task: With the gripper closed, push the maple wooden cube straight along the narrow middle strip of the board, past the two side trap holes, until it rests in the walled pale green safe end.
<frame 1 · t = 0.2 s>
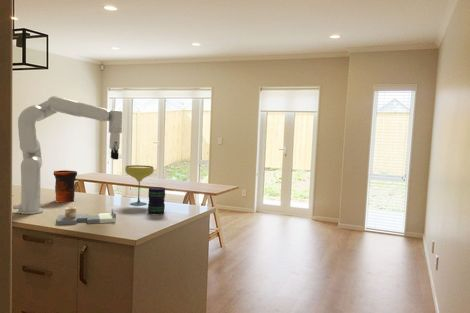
hand: (114, 158, 229), 31 cm above the table, tool pointing down, fingers open, 9 cm apart
cocktail glass: (138, 204, 250), on the table
maple block: (70, 217, 197), point 2 cm above the table, touching trap board
storage jar: (156, 213, 226), on the table
vessel: (64, 201, 250), on the table
trap board: (86, 220, 200), on the table
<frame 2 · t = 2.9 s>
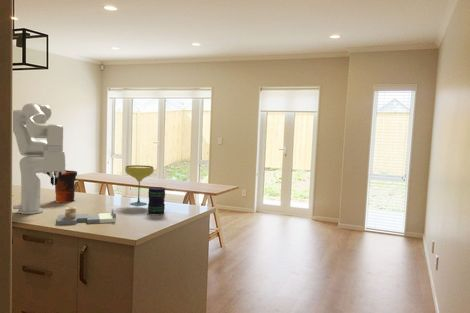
hand: (54, 184, 193), 19 cm above the table, tool pointing down, fingers closed
nothing on the table moved.
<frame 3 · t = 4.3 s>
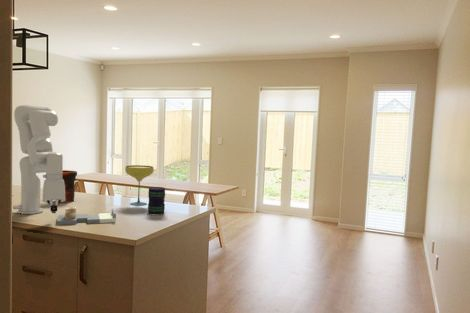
hand: (53, 212, 193), 5 cm above the table, tool pointing down, fingers closed
nothing on the table moved.
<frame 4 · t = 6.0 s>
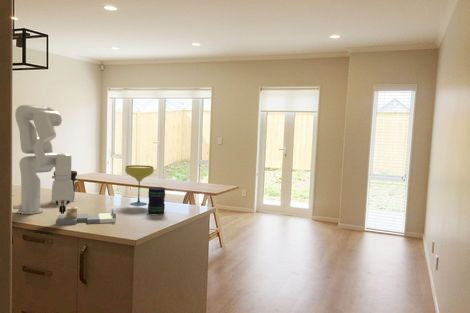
hand: (62, 213, 195), 4 cm above the table, tool pointing down, fingers closed
maple block: (71, 217, 197), point 2 cm above the table, touching gripper, trap board
everything else where it was.
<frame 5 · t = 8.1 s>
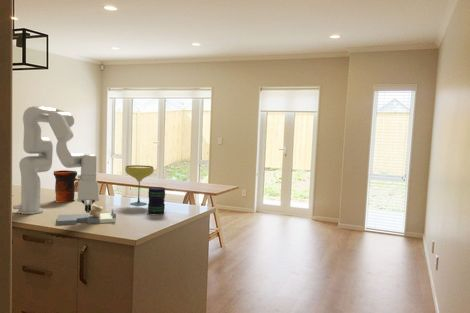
hand: (87, 212, 200), 4 cm above the table, tool pointing down, fingers closed
maple block: (94, 215, 200), point 3 cm above the table, tilted 19°, touching gripper, trap board
everything else where it was.
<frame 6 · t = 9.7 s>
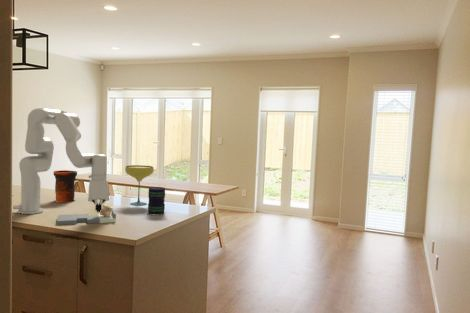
hand: (98, 211, 202), 4 cm above the table, tool pointing down, fingers closed
maple block: (104, 214, 202), point 3 cm above the table, tilted 19°, touching gripper, trap board
everything else where it was.
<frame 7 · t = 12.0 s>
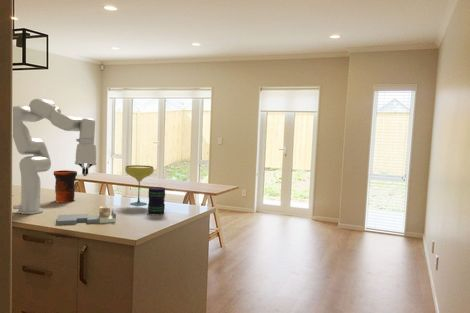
hand: (85, 175, 203), 23 cm above the table, tool pointing down, fingers closed
maple block: (104, 216, 202), point 2 cm above the table, touching trap board
everything else where it was.
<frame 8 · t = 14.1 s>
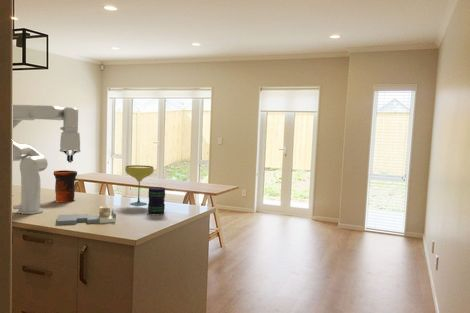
hand: (69, 162, 212), 29 cm above the table, tool pointing down, fingers closed
nothing on the table moved.
at the end: maple block 1.4 cm from the target spot on the trap board, point 2.0 cm above the trap board's base; maple block tilted 0° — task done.
